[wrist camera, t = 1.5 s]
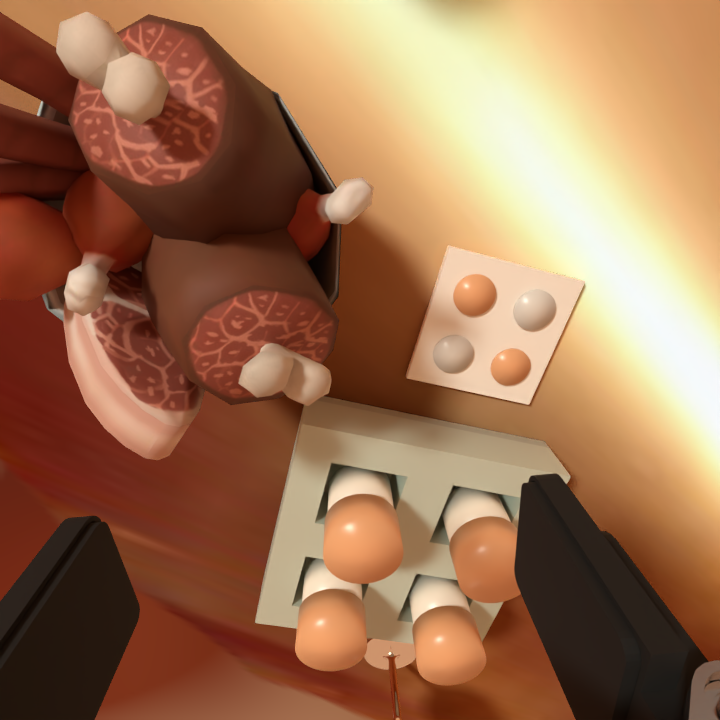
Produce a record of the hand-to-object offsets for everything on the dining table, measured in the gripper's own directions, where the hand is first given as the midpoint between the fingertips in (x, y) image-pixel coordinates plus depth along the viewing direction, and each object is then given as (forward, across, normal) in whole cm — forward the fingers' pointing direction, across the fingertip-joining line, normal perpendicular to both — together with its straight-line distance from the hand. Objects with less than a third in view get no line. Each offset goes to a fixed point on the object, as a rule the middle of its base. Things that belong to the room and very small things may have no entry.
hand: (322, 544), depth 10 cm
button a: (+22, -10, +20) cm, 31 cm away
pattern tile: (+26, -12, +5) cm, 29 cm away
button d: (+22, +3, +26) cm, 35 cm away
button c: (+22, -7, +29) cm, 37 cm away
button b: (+22, -1, +17) cm, 28 cm away
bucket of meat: (+26, +7, -5) cm, 27 cm away
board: (+26, -4, +23) cm, 35 cm away
